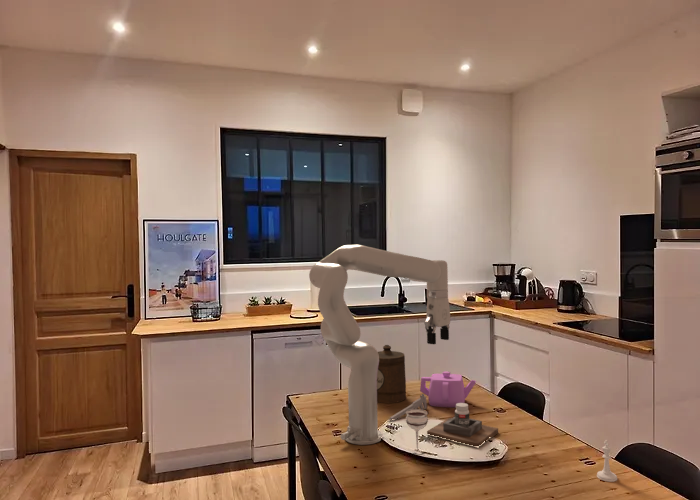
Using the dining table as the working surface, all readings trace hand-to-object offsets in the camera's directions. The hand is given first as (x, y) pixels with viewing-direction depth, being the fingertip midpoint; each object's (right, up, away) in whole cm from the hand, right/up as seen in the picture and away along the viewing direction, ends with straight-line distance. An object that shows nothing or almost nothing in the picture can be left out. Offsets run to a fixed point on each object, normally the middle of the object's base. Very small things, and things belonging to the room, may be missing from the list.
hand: (438, 341), depth 182 cm
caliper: (-10, -29, +6) cm, 31 cm away
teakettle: (+8, -28, +20) cm, 36 cm away
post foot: (+6, -28, -14) cm, 32 cm away
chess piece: (+37, -28, -47) cm, 66 cm away
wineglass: (-11, -29, -27) cm, 41 cm away
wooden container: (-16, -29, +28) cm, 43 cm away
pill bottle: (+6, -27, -14) cm, 31 cm away
